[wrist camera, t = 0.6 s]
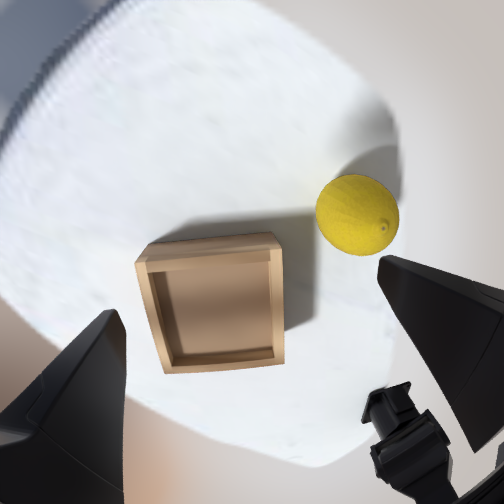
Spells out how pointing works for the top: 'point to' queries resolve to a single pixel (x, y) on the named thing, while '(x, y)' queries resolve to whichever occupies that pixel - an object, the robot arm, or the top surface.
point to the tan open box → (214, 302)
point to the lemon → (357, 215)
